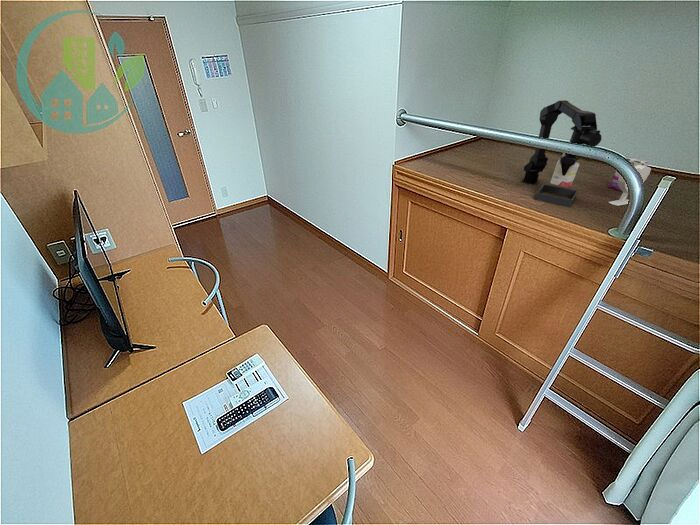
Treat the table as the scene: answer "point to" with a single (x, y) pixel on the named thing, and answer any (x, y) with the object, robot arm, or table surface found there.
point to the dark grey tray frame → (553, 198)
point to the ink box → (564, 180)
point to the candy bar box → (616, 176)
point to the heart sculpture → (622, 184)
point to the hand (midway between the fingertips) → (564, 173)
